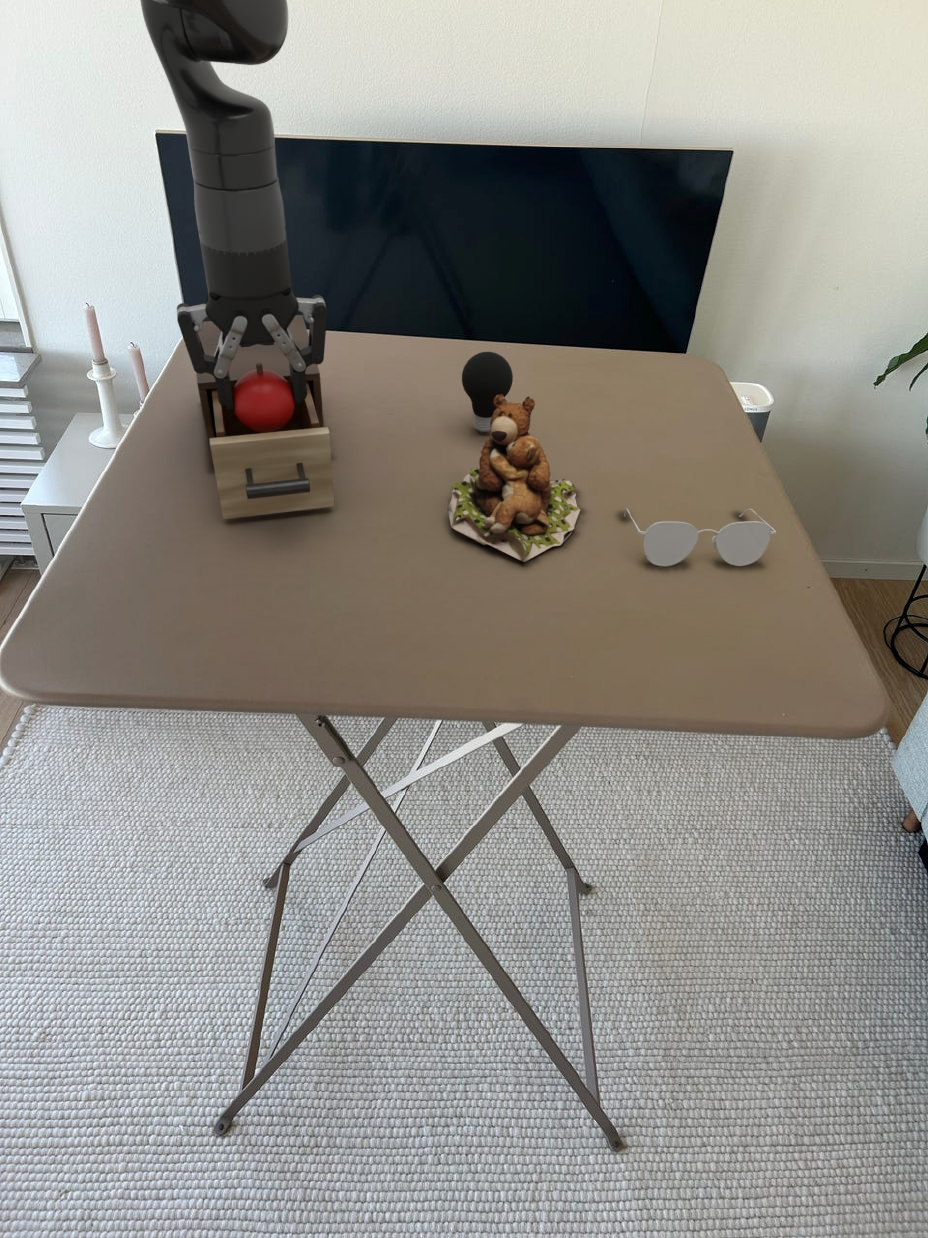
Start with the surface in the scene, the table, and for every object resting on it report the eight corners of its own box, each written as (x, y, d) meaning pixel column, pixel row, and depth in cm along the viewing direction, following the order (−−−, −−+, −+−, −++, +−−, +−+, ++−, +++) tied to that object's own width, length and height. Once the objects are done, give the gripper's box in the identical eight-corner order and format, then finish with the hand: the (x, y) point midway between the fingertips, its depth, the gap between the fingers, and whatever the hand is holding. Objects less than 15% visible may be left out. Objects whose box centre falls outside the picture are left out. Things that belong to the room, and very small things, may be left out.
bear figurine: (423, 536, 91) (424, 432, 82) (481, 465, 101) (487, 366, 92) (547, 575, 87) (561, 470, 79) (594, 497, 97) (612, 397, 89)
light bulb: (512, 424, 108) (520, 347, 101) (501, 448, 103) (507, 370, 97) (466, 416, 109) (470, 339, 102) (453, 439, 104) (456, 361, 98)
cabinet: (326, 458, 100) (319, 372, 93) (212, 470, 98) (197, 383, 90) (309, 396, 111) (302, 314, 103) (206, 405, 108) (191, 322, 101)
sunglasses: (634, 566, 88) (641, 522, 86) (617, 527, 95) (623, 485, 93) (769, 565, 89) (780, 521, 87) (742, 527, 96) (751, 485, 94)
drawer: (341, 530, 89) (336, 456, 83) (225, 545, 87) (212, 469, 81) (316, 439, 102) (311, 368, 96) (215, 449, 99) (203, 377, 93)
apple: (248, 449, 88) (239, 384, 83) (228, 420, 91) (217, 356, 87) (306, 435, 90) (300, 371, 85) (284, 407, 94) (277, 344, 89)
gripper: (158, 253, 73) (192, 430, 85) (331, 244, 76) (341, 416, 88) (157, 221, 78) (189, 392, 90) (319, 214, 82) (330, 380, 93)
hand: (264, 403), depth 89 cm, fingers closed on apple, 6 cm apart
